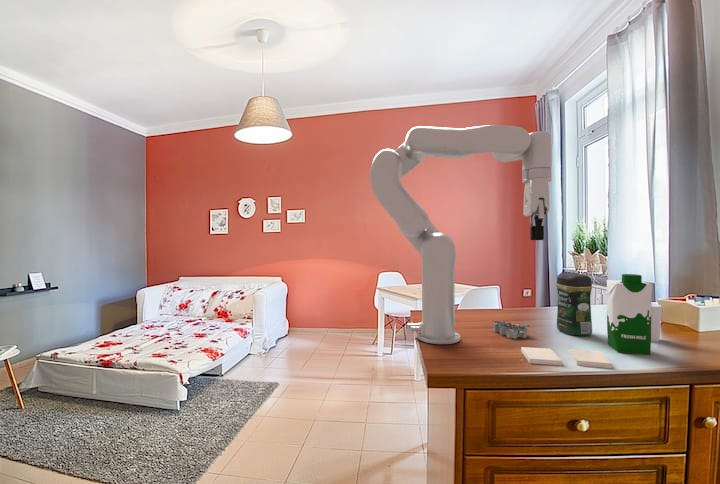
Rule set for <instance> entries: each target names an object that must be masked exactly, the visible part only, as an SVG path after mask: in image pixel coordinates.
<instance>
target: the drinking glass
mask: <svg viewBox="0 0 720 484" xmlns="http://www.w3.org/2000/svg"><path fill="white" fill-rule="evenodd" d="M661 319H662V305H661V304H658V303H652V302H651V343H652V342H653V343H654V342H659V341H661V340H660V339H661V321H662V320H661Z"/></svg>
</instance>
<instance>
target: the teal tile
mask: <svg viewBox="0 0 720 484" xmlns="http://www.w3.org/2000/svg"><path fill="white" fill-rule="evenodd" d="M520 351H521V354H523V356H524V358H525V359H526V360H527V362H528V363H529V364H537V365H539V364H540V365H549V366H550V365H552V366H563V360H562V359H561V358H560V357H559V356H558V355H557V354H556V353H555V352H554V351H553V350H552V349H551V348H546V347H543V348H542V347H529V346H528V347H525V346H521V347H520Z"/></svg>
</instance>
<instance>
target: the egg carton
mask: <svg viewBox="0 0 720 484" xmlns="http://www.w3.org/2000/svg"><path fill="white" fill-rule="evenodd" d="M491 321H492V323H493V332H494V333H499V334H500V335H501V336H506V338H509V339H518V338H523V339H526V338H527V337H528V328H530V325H529V324H526V323H523V324H520V323H519V324H518V323H517V324H516V323H511V322H510V321H506V322H505V320H502V321H501V320H491Z"/></svg>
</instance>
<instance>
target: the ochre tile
mask: <svg viewBox="0 0 720 484" xmlns="http://www.w3.org/2000/svg"><path fill="white" fill-rule="evenodd" d="M567 353H568V355H569V354H570V355H569V356H570V358H571V357H572V358H573V359H572V358H571V359H572V361H574V364H575V365H576V366H583V367H593V368H604V369H613V363H612V362H611V361H610V360H609V359H608V358H607V357H606V356H605V355H604V354H603V353H602V352H601V351H599V350H588V349H587V350H586V349H577V348H576V349H575V348H574V349H573V348H568V349H567Z"/></svg>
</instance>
